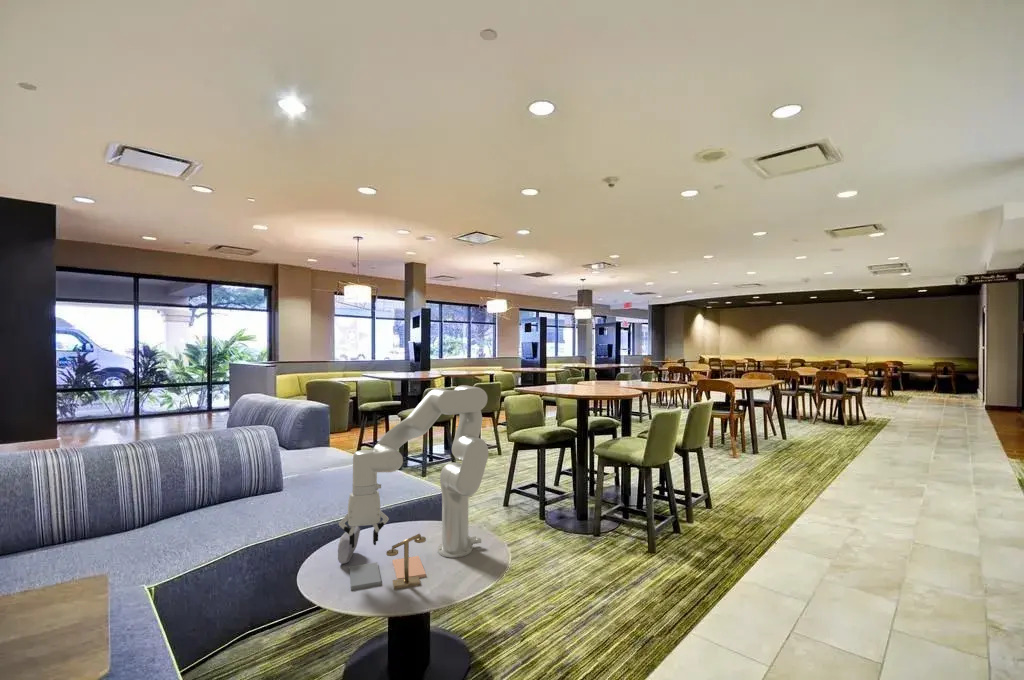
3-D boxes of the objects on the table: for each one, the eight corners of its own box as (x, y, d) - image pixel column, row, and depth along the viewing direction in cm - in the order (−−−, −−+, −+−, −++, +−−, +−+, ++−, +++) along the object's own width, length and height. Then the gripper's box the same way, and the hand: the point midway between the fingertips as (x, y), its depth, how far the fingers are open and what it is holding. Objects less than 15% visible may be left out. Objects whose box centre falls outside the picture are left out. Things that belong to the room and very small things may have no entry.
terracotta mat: (418, 559, 168) (418, 555, 168) (425, 577, 155) (425, 573, 155) (392, 563, 165) (392, 559, 165) (397, 582, 152) (397, 578, 152)
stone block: (350, 567, 162) (350, 537, 162) (336, 567, 162) (336, 537, 162) (362, 551, 174) (362, 524, 174) (348, 551, 174) (348, 524, 174)
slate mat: (377, 565, 163) (377, 562, 163) (381, 585, 150) (381, 581, 150) (349, 570, 160) (349, 566, 160) (350, 590, 147) (350, 586, 147)
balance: (424, 578, 154) (424, 530, 154) (426, 584, 150) (426, 535, 150) (385, 585, 150) (385, 535, 150) (387, 591, 146) (387, 540, 146)
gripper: (390, 483, 162) (389, 537, 161) (336, 488, 156) (335, 544, 155) (393, 489, 155) (392, 546, 154) (336, 495, 149) (335, 553, 148)
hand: (363, 544), depth 155 cm, fingers open, 6 cm apart
